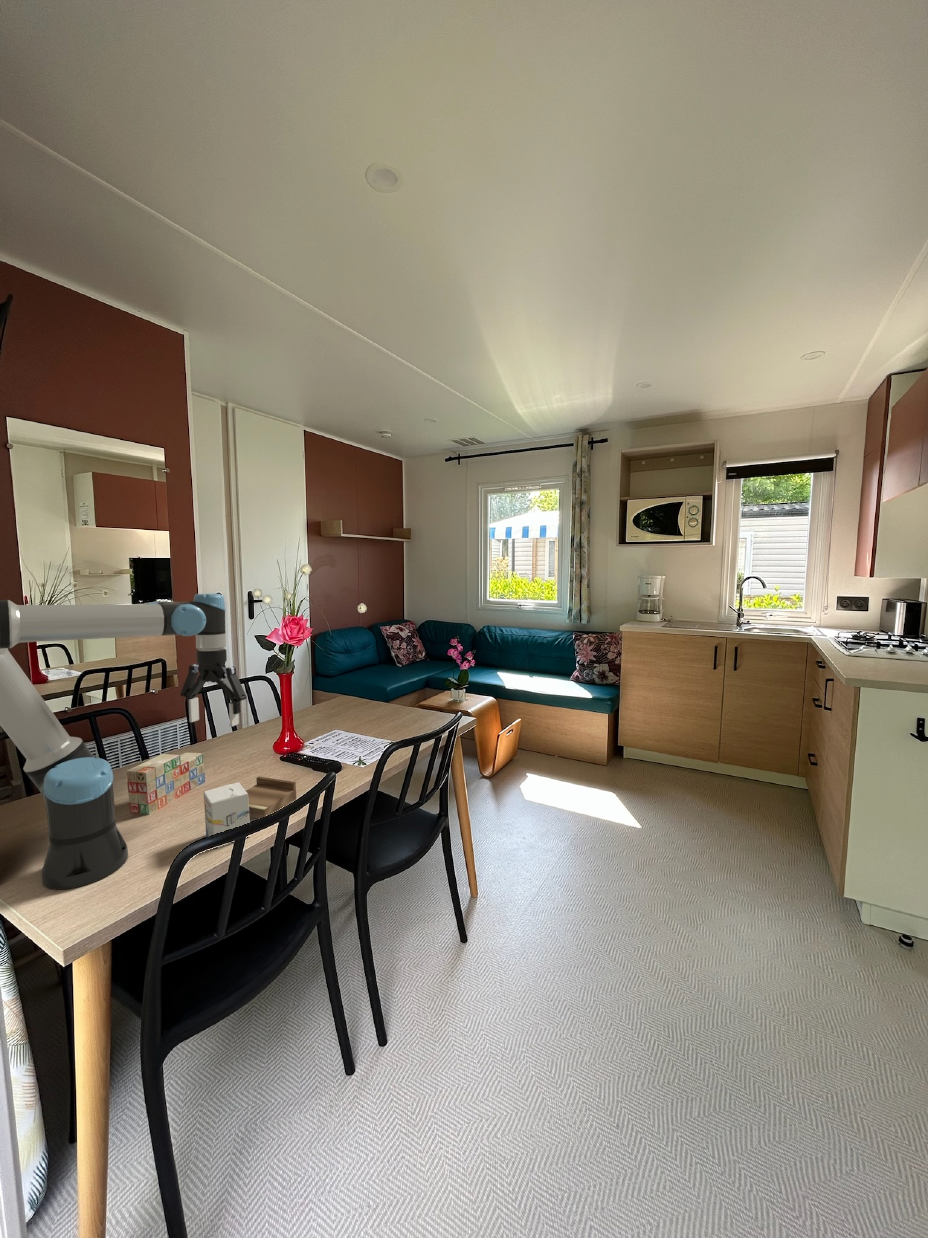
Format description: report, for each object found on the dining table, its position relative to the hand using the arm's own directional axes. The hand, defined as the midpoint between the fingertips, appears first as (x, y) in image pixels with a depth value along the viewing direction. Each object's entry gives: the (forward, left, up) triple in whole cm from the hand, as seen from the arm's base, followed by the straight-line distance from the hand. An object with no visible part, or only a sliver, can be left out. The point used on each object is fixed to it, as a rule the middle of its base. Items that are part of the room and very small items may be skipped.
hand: (214, 723), depth 138 cm
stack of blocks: (-3, +15, -23) cm, 28 cm away
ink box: (-15, -18, -23) cm, 32 cm away
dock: (+1, -15, -23) cm, 27 cm away
